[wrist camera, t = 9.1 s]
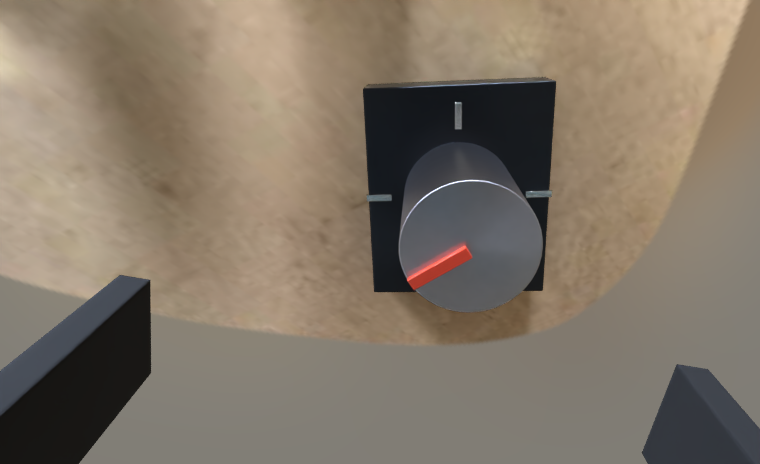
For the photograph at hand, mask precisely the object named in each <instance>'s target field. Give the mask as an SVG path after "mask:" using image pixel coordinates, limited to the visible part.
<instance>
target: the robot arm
mask: <svg viewBox="0 0 760 464" xmlns="http://www.w3.org/2000/svg"><path fill="white" fill-rule="evenodd" d="M150 373H151V313H150V280H148V279H141V278H135V277H129V276H123V275H119V276H118V277H117V278H116V279H114V280H113V281H112V282H111V283H109V284H108V285H107V286H106V287H104V288H103V289H102V290H101V291H99V292H98V293H97V294H96V295H94V296H93V297H92V298H91V299H89V300H88V301H87V302H86V303H85V304H83V305H82V306H81V307H79V308H78V309H77V310H76V311H75V312H73V313H72V314H71V315H69V316H68V317H67V318H66V319H64V320H63V321H62V322H61V323H59V324H58V325H57V326H56V327H54V328H53V329H52V330H51V331H49V333H47V334H46V335H44V336H43V337H42V338H41V339H40V340H38V341H37V342H36V343H34V345H32V346H31V347H29V348H28V349H27V350H26V351H24V352H23V353H22V354H21V355H19V356H18V357H17V358H16V359H14V360H13V361H12V362H11V363H10V364H8V365H7V366H6V367H4V368H3V369H2V370H1V371H0V464H79V463H80V461H81V460H82V459H83V458H84V456H85V455H86V454H87V453H88V451H89V450H90V449H91V448H92V446H93V445H94V444H95V443H96V441H97V440H98V439H99V437H100V436H101V435H102V434H103V432H104V431H105V430H106V429H107V427H108V426H109V425H110V424H111V422H112V421H113V420H114V419H115V417H116V416H117V415H118V414H119V412H120V411H121V410H122V409H123V407H124V406H125V405H126V403H127V402H128V401H129V400H130V399H131V397H132V396H133V395H134V394H135V392H136V391H137V390H138V388H139V387H140V386H141V385H142V383H143V382H144V381H145V380H146V378H147V377H148V376H149V375H150ZM642 454H643V456H644V458H645V459H646V461H647V463H648V464H760V429H759V427H758V426H757V425H756V424H755V423H754V422H753V421H752V419H751V418H750V417H749V416H748V415H747V414H746V413H745V411H744V410H743V409H742V408H741V407H740V406H739V404H738V403H737V402H736V401H735V400H734V399H733V398H732V396H731V395H730V394H729V393H728V392H727V391H726V389H725V388H724V387H723V386H722V385H721V384H720V383H719V381H718V380H717V379H716V378H715V377H714V376H713V374H712V373H711V372H710V371H709V370H708V369H703V368H697V367H691V366H684V365H678V364H677V365H676V368H675V370H674V373H673V375H672V378H671V381H670V383H669V386H668V388H667V391H666V393H665V396H664V398H663V401H662V403H661V406H660V408H659V411H658V413H657V416H656V418H655V421H654V424H653V426H652V429H651V431H650V434H649V436H648V439H647V441H646V444H645V446H644V449H643V451H642Z"/></svg>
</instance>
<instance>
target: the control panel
mask: <svg viewBox="0 0 760 464" xmlns="http://www.w3.org/2000/svg"><path fill="white" fill-rule="evenodd" d="M555 92H556V81H555V80H552V79H549V78H546V77H533V78H508V79H484V80H460V81H436V82H412V83H387V84H368V85H367V86H366V87H365V88H364V89H363V98H364V116H365V135H366V153H367V171H368V189H369V195H367V201H369V207H370V225H371V243H372V261H373V280H374V292H417V291H416V290H413V288H412V287H411V285H410V284H409V283H408V281H407V278H406V276H405V274H404V272H403V269H402V267H401V263H400V258H399V236H400V226H401V217H402V208H403V198H404V190H405V184H406V181H407V178H408V175H409V173H410V171H411V170H412V168H413V166H414V165H415V164H416V163H417V161H418V160H419V159H420V158H421V157H422V156H423V155H425V154H426V153H428V152H429V151H431V150H432V149H434V148H436V147H439V146H441V145H445V144H449V143H456V142H463V143H471V144H475V145H479V146H481V147H483V148H486V149H487V150H489V151H490V152H492V153H493V154H494V155H496V156H497V157H498V158H499V159H500V160H501V161H502V163H503V164H504V166H505V167H506V169H507V170H508V172H509V173H510V175H511V177H512V178H513V180H514V181H515V183H516V185H517V186H518V188H519V189H520V191H521V193H522V194H523V196H524V197H525V199H526V200H527V202H528V204H529V205H530V207H531V208H532V210H533V212H534V213H535V215H536V217H537V219H538V221H539V225H540V228H541V232H542V237H543V250H542V257H541V261H540V264H539V267H538V269H537V272H536V273H535V275H534V277H533V279H532V280H531V282H530V283H529V284H528V285H527V287H526V288H525V289H524V290H523V291H542V290H543V279H544V264H545V248H546V232H547V217H548V201H549V197H552V190H549V186H550V170H551V154H552V139H553V123H554V107H555Z"/></svg>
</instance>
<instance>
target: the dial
mask: <svg viewBox="0 0 760 464" xmlns="http://www.w3.org/2000/svg"><path fill="white" fill-rule="evenodd" d="M542 250H543V237H542V232H541V228H540V225H539V221H538V219H537V217H536V215H535V213H534V212H533V210H532V208H531V207H530V205H529V204H528V202H527V200H526V199H525V197H524V196H523V194H522V193H521V191H520V189H519V188H518V186H517V185H516V183H515V181H514V180H513V178H512V177H511V175H510V173H509V172H508V170H507V169H506V167H505V166H504V164H503V163H502V161H501V160H500V159H499V158H498V157H497V156H496V155H494V154H493V153H492V152H490V151H489V150H487V149H486V148H483V147H481V146H479V145H475V144H471V143H463V142H456V143H449V144H445V145H441V146H439V147H436V148H434V149H432V150H431V151H429V152H428V153H426V154H425V155H423V156H422V157H421V158H420V159H419V160H418V161H417V163H416V164H415V165H414V166H413V168H412V170H411V171H410V173H409V175H408V178H407V181H406V184H405V190H404V198H403V208H402V217H401V226H400V236H399V258H400V263H401V267H402V269H403V272H404V274H405V276H406V278H407V281H408V283H409V284H410V285H411V287H412V288H413V290H416V291H417V292H418V293H419V294H420V295H421V296H422V297H424V298H425V299H426V300H428V301H430V302H431V303H433V304H435V305H437V306H439V307H442V308H444V309H448V310H451V311H457V312H481V311H486V310H490V309H493V308H496V307H499V306H501V305H503V304H505V303H507V302H509V301H510V300H512V299H513V298H515V297H516V296H517V295H519V294H520V293H521V292H522V291H523V290H524V289H525V288H526V287H527V285H528V284H529V283H530V282H531V280H532V279H533V277H534V275H535V273H536V272H537V269H538V267H539V264H540V261H541V257H542Z"/></svg>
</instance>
